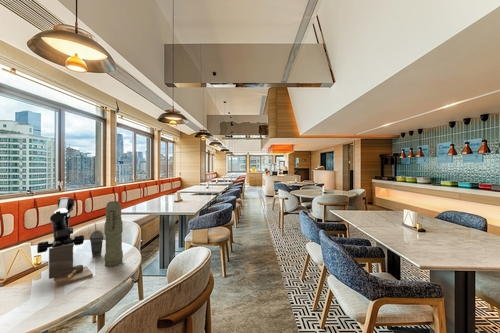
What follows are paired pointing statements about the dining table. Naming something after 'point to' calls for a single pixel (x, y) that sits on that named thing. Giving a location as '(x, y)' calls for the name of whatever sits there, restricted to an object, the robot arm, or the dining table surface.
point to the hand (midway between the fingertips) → (63, 257)
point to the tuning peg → (62, 261)
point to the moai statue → (113, 234)
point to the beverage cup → (96, 242)
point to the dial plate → (73, 277)
